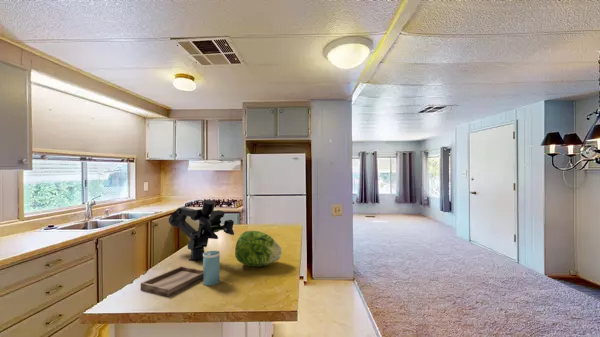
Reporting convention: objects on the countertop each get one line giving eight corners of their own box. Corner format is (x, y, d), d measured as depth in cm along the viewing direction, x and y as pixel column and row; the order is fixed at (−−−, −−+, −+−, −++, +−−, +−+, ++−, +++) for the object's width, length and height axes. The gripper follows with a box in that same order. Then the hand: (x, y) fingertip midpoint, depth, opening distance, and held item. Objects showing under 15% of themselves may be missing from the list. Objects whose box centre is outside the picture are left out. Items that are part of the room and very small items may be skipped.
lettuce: (276, 274, 117) (283, 236, 120) (227, 265, 118) (235, 228, 121) (280, 267, 134) (285, 234, 137) (237, 260, 135) (244, 228, 139)
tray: (140, 289, 101) (140, 283, 101) (181, 271, 120) (181, 266, 120) (168, 296, 95) (168, 289, 95) (207, 276, 114) (207, 271, 114)
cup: (199, 284, 106) (199, 254, 106) (210, 278, 112) (210, 249, 112) (212, 287, 103) (212, 256, 103) (223, 280, 109) (223, 251, 110)
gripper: (194, 210, 122) (211, 224, 113) (226, 205, 137) (244, 217, 127) (190, 231, 124) (207, 246, 115) (223, 224, 139) (240, 237, 129)
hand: (225, 236), depth 121 cm, fingers open, 9 cm apart
